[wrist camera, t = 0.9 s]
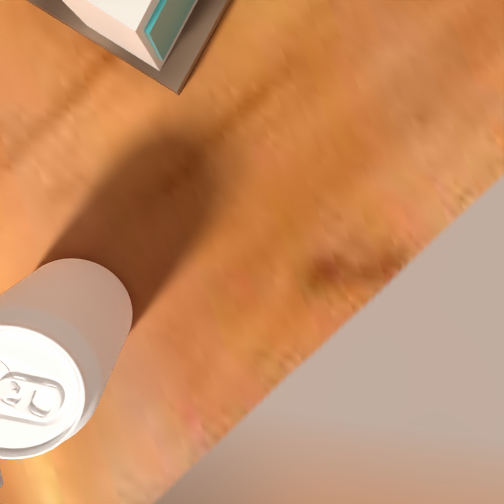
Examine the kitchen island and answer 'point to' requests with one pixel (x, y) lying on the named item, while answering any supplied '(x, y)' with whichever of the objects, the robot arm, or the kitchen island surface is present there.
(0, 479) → the robot arm
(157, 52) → the tall carton
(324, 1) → the kitchen island surface
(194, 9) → the shelf board
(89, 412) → the beverage can
